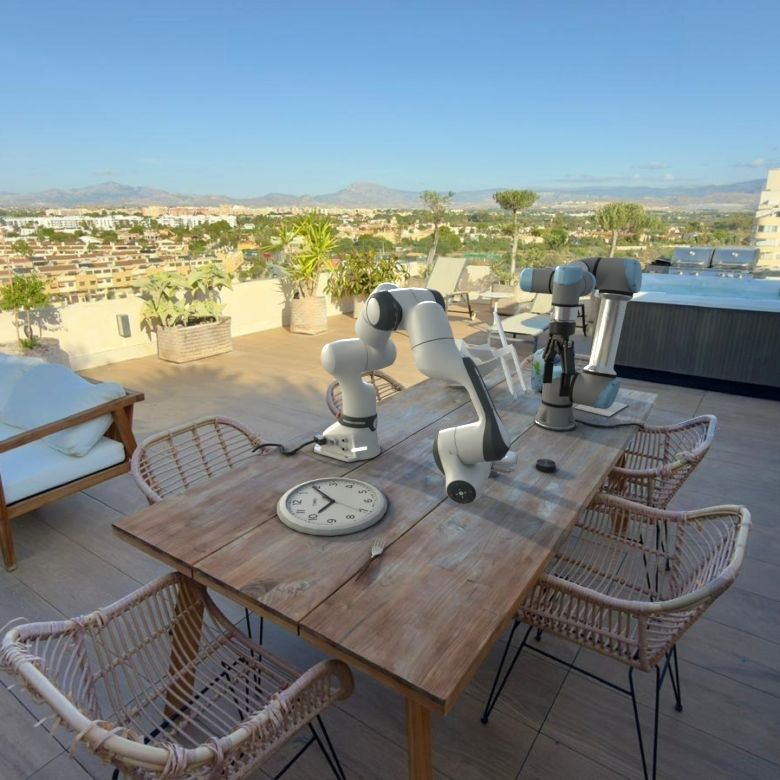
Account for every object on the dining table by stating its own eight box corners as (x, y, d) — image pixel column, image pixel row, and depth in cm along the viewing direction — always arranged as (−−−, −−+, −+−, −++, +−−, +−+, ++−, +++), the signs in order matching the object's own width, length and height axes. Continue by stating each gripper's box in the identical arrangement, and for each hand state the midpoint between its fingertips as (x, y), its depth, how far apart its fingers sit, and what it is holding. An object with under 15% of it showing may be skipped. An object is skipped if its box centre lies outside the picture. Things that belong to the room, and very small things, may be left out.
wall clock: (392, 527, 129) (268, 531, 127) (391, 533, 130) (269, 537, 127) (383, 473, 158) (282, 475, 155) (383, 478, 158) (282, 480, 156)
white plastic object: (461, 429, 252) (437, 405, 227) (444, 352, 274) (420, 323, 250) (535, 404, 240) (518, 377, 215) (510, 326, 262) (492, 293, 237)
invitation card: (608, 416, 214) (573, 407, 224) (608, 416, 214) (573, 408, 224) (628, 404, 229) (594, 396, 238) (628, 405, 229) (594, 397, 238)
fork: (349, 582, 112) (349, 574, 111) (377, 542, 126) (377, 535, 125) (361, 585, 111) (361, 577, 110) (387, 544, 125) (387, 537, 125)
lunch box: (547, 396, 238) (552, 351, 232) (526, 391, 246) (531, 347, 239) (574, 385, 256) (579, 343, 250) (554, 380, 263) (559, 340, 257)
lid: (539, 472, 164) (539, 466, 163) (533, 464, 170) (533, 458, 169) (558, 472, 164) (558, 466, 164) (551, 464, 170) (552, 458, 169)
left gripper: (516, 461, 132) (522, 441, 144) (438, 447, 139) (450, 429, 151) (513, 483, 134) (520, 461, 146) (436, 469, 141) (449, 449, 153)
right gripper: (536, 313, 165) (529, 378, 171) (567, 328, 141) (558, 402, 147) (559, 313, 165) (552, 378, 172) (594, 328, 141) (584, 402, 148)
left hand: (484, 445), depth 149 cm, fingers open, 8 cm apart
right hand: (554, 389), depth 159 cm, fingers open, 13 cm apart
